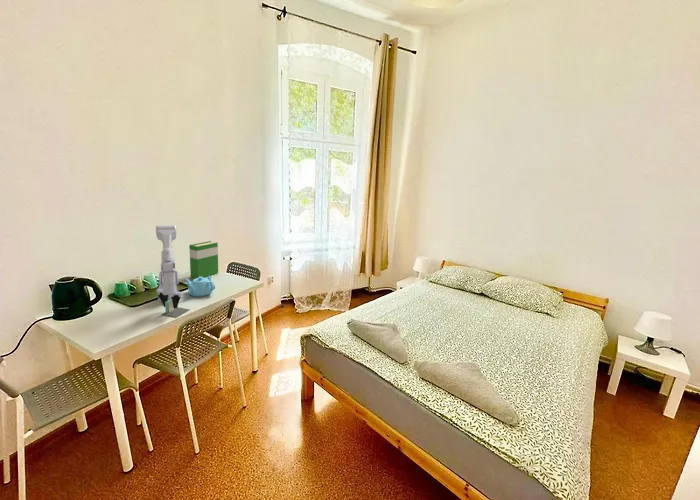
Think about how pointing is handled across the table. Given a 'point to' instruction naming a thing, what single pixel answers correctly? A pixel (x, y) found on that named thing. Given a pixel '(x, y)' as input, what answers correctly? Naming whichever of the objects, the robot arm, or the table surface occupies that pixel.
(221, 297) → the table surface
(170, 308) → the teal tile
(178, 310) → the charcoal mat
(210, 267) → the hardback book
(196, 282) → the teapot
